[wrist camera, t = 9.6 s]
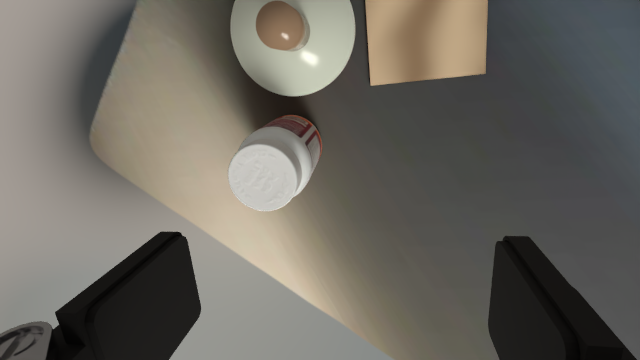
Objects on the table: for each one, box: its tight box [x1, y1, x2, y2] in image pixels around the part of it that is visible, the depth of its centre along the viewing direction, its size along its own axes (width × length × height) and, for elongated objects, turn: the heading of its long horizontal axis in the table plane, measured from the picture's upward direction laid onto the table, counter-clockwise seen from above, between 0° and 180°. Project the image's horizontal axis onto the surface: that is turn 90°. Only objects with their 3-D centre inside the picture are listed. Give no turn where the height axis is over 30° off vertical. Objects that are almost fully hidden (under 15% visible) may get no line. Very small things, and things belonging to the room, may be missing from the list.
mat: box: [365, 0, 488, 86], centre depth 30 cm, size 10×10×1 cm
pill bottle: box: [228, 115, 322, 211], centre depth 30 cm, size 6×6×11 cm
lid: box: [231, 0, 355, 96], centre depth 26 cm, size 10×10×5 cm
